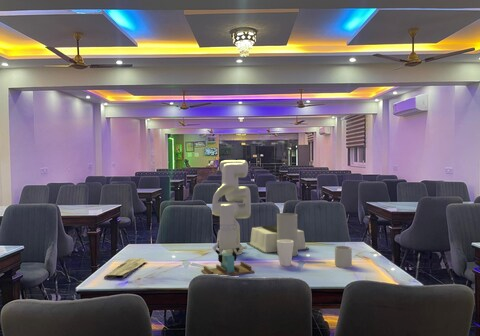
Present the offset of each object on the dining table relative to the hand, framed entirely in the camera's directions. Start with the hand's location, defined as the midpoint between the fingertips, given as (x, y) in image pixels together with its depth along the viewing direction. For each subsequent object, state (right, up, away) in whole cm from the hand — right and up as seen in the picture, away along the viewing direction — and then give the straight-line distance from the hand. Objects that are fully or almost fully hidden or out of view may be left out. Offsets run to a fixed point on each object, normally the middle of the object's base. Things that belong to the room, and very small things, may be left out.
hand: (227, 261), depth 194 cm
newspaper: (-54, -7, +7) cm, 55 cm away
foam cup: (+32, -6, +14) cm, 36 cm away
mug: (+64, -5, +11) cm, 65 cm away
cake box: (+32, -6, +61) cm, 70 cm away
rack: (0, -6, 0) cm, 6 cm away
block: (0, -5, 0) cm, 5 cm away
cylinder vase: (+36, -5, +37) cm, 52 cm away
